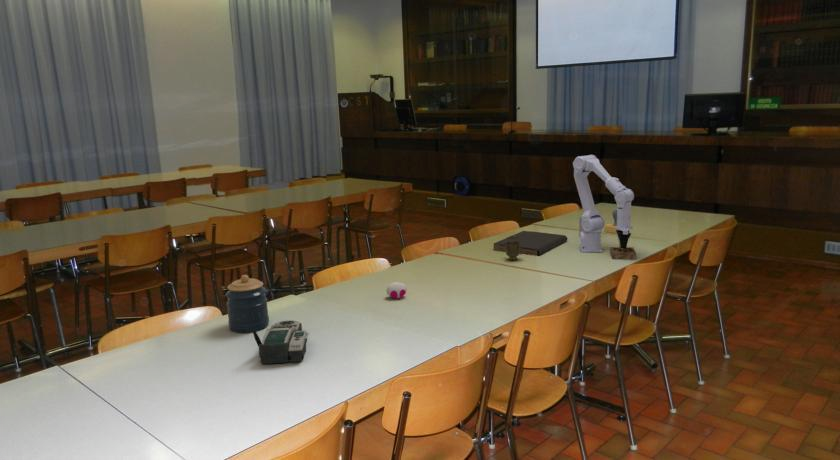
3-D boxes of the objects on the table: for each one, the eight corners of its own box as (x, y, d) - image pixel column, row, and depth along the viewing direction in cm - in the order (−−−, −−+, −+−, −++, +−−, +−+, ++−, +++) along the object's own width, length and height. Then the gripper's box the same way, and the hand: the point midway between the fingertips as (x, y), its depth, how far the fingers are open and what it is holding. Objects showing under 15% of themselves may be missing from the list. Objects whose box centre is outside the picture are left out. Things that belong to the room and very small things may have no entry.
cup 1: (520, 257, 282) (520, 240, 281) (521, 261, 275) (521, 244, 273) (504, 257, 283) (504, 240, 281) (504, 261, 276) (504, 244, 274)
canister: (253, 317, 216) (249, 267, 212) (277, 324, 207) (273, 273, 204) (220, 328, 206) (215, 276, 202) (244, 336, 198) (239, 283, 194)
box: (612, 259, 274) (612, 252, 273) (609, 253, 284) (609, 247, 283) (636, 259, 272) (636, 252, 272) (632, 253, 282) (632, 247, 281)
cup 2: (598, 238, 313) (598, 219, 311) (581, 239, 314) (581, 219, 312) (593, 235, 322) (594, 216, 320) (577, 235, 322) (578, 216, 320)
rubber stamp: (604, 232, 328) (604, 209, 325) (609, 230, 332) (609, 208, 329) (622, 234, 321) (623, 211, 319) (627, 232, 325) (627, 209, 323)
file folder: (523, 229, 323) (567, 234, 309) (523, 237, 324) (567, 243, 310) (492, 242, 297) (539, 249, 283) (492, 251, 297) (539, 257, 284)
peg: (619, 254, 276) (619, 236, 275) (618, 252, 279) (618, 235, 278) (626, 254, 276) (627, 236, 274) (625, 252, 279) (626, 235, 277)
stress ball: (388, 308, 229) (389, 297, 225) (384, 291, 235) (385, 280, 230) (409, 305, 231) (410, 294, 226) (404, 288, 236) (405, 277, 232)
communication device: (313, 329, 203) (311, 298, 201) (305, 364, 176) (302, 329, 174) (269, 332, 202) (266, 301, 200) (253, 367, 175) (250, 331, 173)
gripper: (635, 220, 267) (634, 251, 269) (630, 213, 280) (629, 243, 283) (618, 220, 268) (617, 250, 271) (614, 213, 282) (613, 243, 285)
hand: (622, 247), depth 277 cm, fingers closed on peg, 3 cm apart
